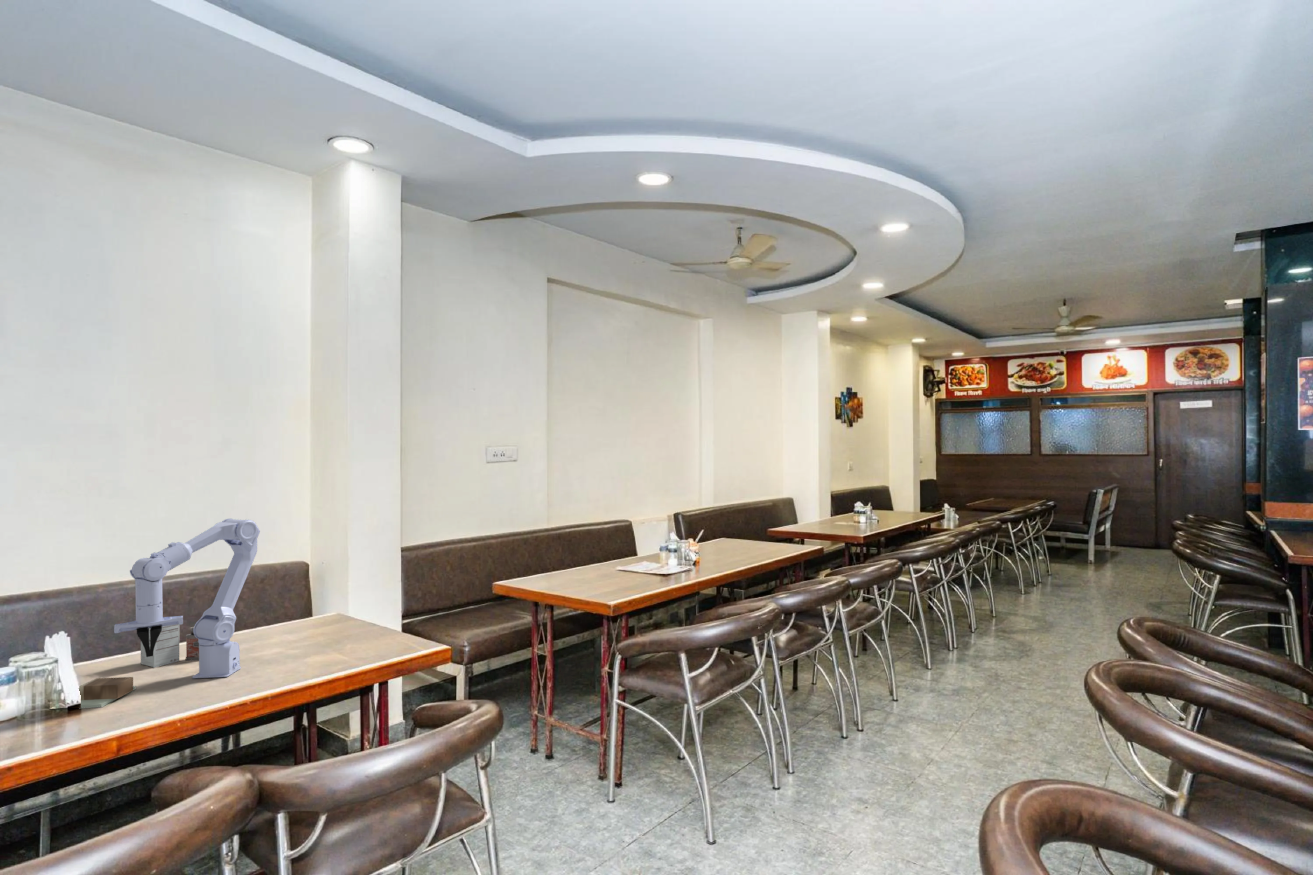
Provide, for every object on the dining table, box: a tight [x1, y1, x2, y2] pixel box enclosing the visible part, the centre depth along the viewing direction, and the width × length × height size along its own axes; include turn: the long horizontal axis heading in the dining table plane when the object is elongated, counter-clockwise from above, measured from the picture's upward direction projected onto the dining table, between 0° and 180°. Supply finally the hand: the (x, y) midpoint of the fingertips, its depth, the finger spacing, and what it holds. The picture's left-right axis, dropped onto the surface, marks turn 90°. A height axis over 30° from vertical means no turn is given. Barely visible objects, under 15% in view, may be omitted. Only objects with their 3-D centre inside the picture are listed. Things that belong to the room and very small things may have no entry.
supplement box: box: [140, 624, 180, 668], centre depth 207 cm, size 7×7×13 cm
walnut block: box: [78, 676, 134, 700], centre depth 178 cm, size 4×6×9 cm
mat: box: [80, 685, 137, 709], centre depth 177 cm, size 12×13×2 cm
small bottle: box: [185, 626, 199, 662], centre depth 211 cm, size 8×3×10 cm, turn 105°
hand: (149, 655), depth 181 cm, fingers closed
